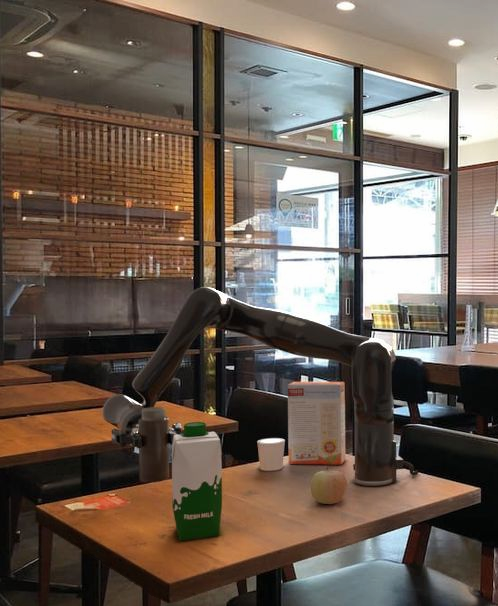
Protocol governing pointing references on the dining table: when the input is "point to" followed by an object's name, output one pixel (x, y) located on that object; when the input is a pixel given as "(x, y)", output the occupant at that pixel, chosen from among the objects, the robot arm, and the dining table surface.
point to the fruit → (328, 486)
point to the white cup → (271, 453)
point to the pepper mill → (154, 445)
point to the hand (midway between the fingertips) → (156, 441)
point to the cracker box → (316, 423)
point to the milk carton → (196, 482)
